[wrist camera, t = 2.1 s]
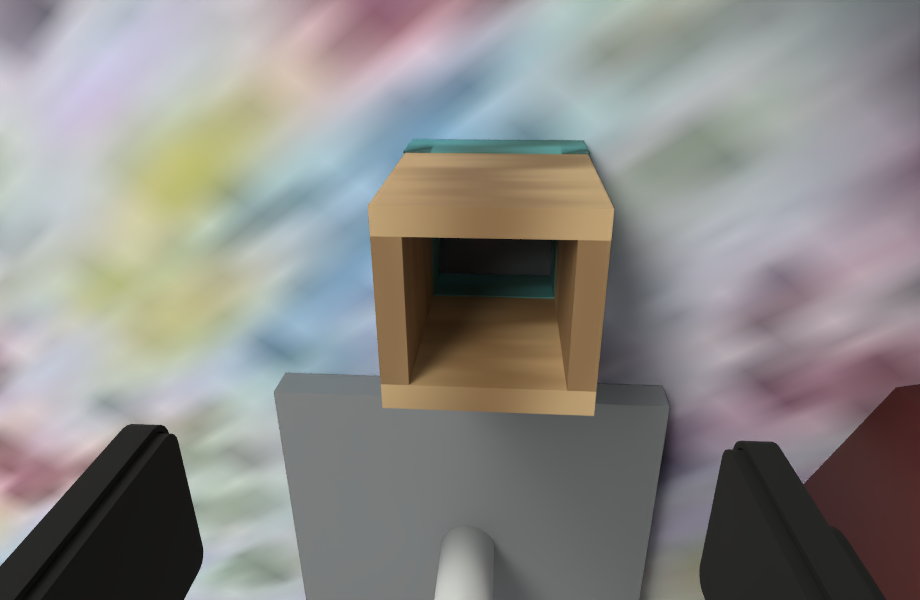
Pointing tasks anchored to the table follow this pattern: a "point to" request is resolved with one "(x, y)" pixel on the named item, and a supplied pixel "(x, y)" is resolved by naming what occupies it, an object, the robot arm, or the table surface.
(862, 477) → the bucket
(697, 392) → the table surface
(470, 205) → the wooden sleeve
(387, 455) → the pin board
